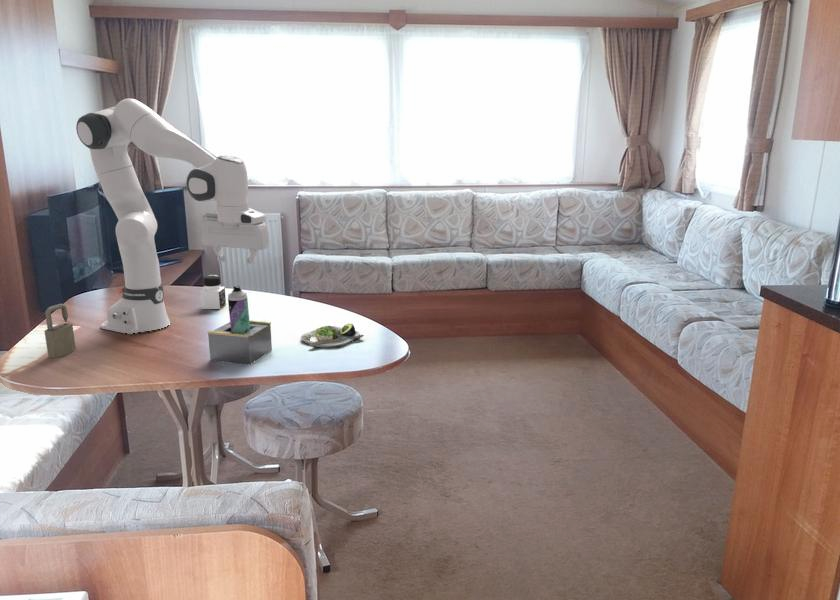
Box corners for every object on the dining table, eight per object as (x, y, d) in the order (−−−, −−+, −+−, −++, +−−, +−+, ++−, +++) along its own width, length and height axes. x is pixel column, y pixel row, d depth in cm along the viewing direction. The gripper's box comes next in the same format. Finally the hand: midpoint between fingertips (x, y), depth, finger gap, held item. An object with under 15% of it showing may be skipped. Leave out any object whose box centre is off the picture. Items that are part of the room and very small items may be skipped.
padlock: (78, 349, 203) (71, 302, 199) (57, 358, 196) (49, 309, 192) (67, 348, 204) (60, 301, 200) (46, 357, 197) (38, 308, 193)
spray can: (236, 348, 201) (230, 284, 196) (254, 348, 201) (248, 283, 195) (230, 354, 196) (224, 288, 190) (248, 354, 195) (242, 288, 190)
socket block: (209, 361, 195) (207, 331, 192) (234, 346, 207) (232, 318, 205) (250, 365, 191) (248, 335, 189) (272, 350, 203) (270, 322, 201)
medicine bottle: (220, 310, 245) (218, 278, 242) (201, 309, 245) (198, 278, 242) (226, 304, 252) (224, 273, 249) (207, 304, 252) (204, 273, 249)
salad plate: (330, 355, 200) (330, 341, 198) (287, 344, 209) (286, 330, 208) (369, 338, 215) (369, 325, 214) (327, 329, 225) (327, 316, 223)
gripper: (194, 214, 189) (198, 262, 192) (259, 218, 183) (261, 267, 187) (207, 211, 194) (210, 257, 198) (270, 215, 189) (272, 263, 193)
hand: (236, 262), depth 192 cm, fingers open, 8 cm apart
